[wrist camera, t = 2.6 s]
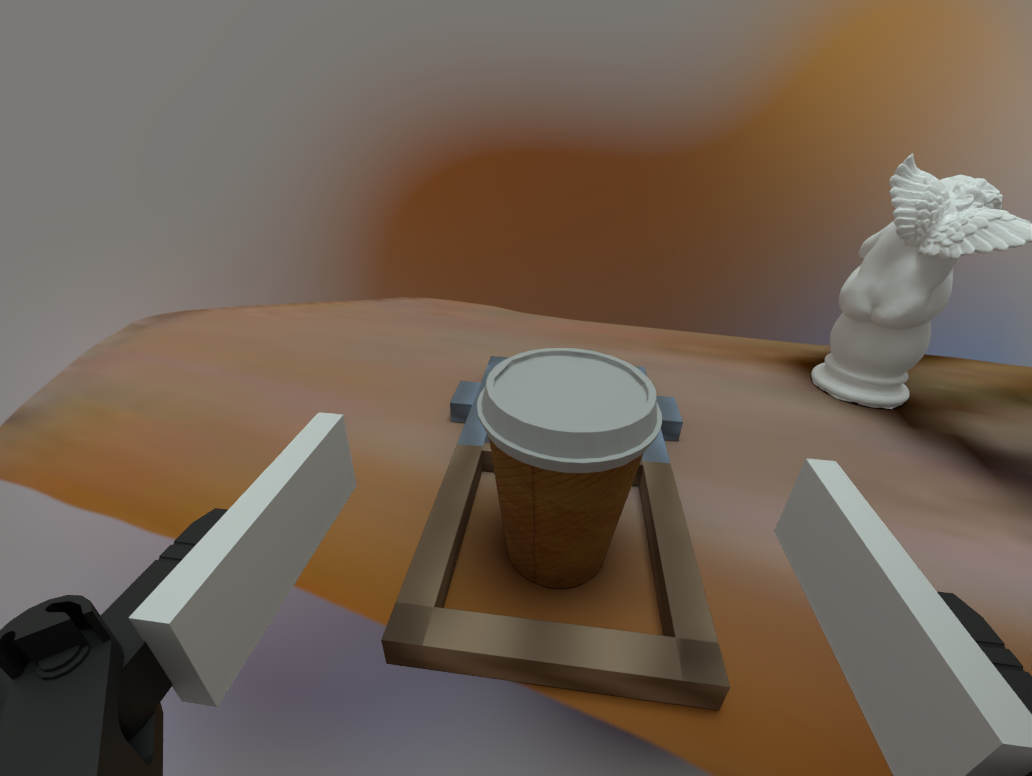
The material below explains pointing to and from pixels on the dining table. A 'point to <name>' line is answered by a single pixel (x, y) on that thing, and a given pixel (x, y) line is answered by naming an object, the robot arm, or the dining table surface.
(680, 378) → the dining table surface
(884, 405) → the cherub figurine
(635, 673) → the two-bay frame
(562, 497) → the disposable coffee cup
